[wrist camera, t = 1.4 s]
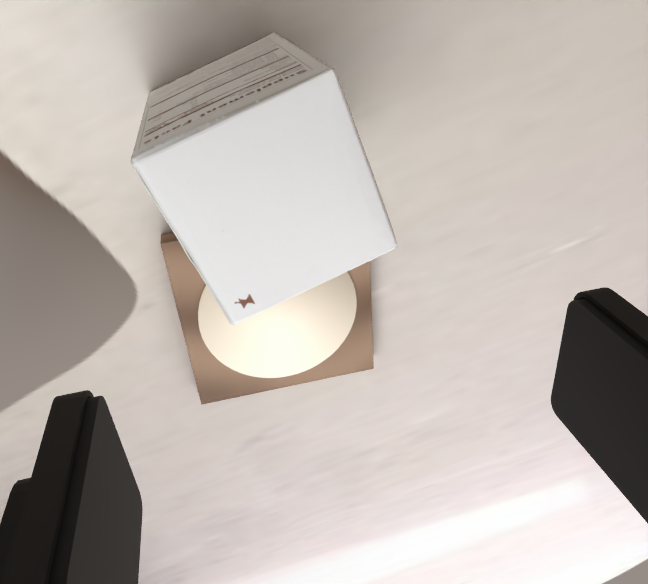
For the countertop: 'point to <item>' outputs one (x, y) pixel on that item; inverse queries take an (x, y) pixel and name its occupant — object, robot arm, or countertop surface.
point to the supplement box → (262, 175)
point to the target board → (272, 332)
